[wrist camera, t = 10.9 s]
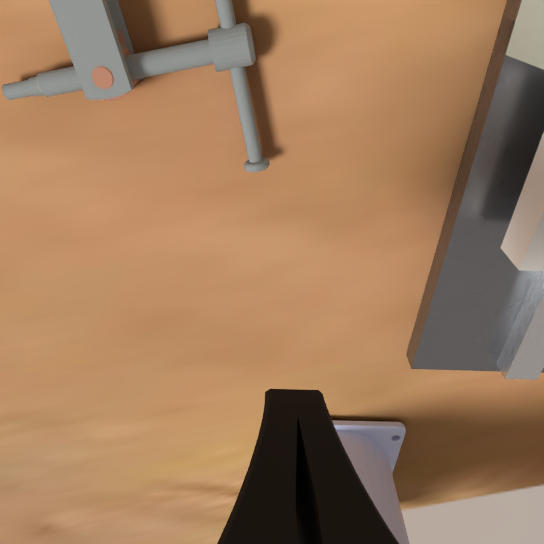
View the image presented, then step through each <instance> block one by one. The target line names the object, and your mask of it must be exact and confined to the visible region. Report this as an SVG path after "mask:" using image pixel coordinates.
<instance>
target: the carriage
mask: <svg viewBox="0 0 544 544" xmlns="http://www.w3.org/2000/svg"><path fill="white" fill-rule="evenodd" d="M501 249H502V250H503V252H504V253H505V254H506V255H507V257H508V258H509V259H510V260H511V261H512V263H513V264H514V265H515V266H516V267H517V269H518V270H520V271H544V132H543V135H542V138H541V140H540V143H539V146H538V148H537V151H536V154H535V156H534V159H533V162H532V164H531V167H530V170H529V173H528V175H527V178H526V181H525V183H524V186H523V189H522V191H521V194H520V197H519V199H518V202H517V205H516V208H515V210H514V213H513V216H512V218H511V221H510V224H509V226H508V229H507V232H506V234H505V237H504V240H503V242H502V245H501Z"/></svg>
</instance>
